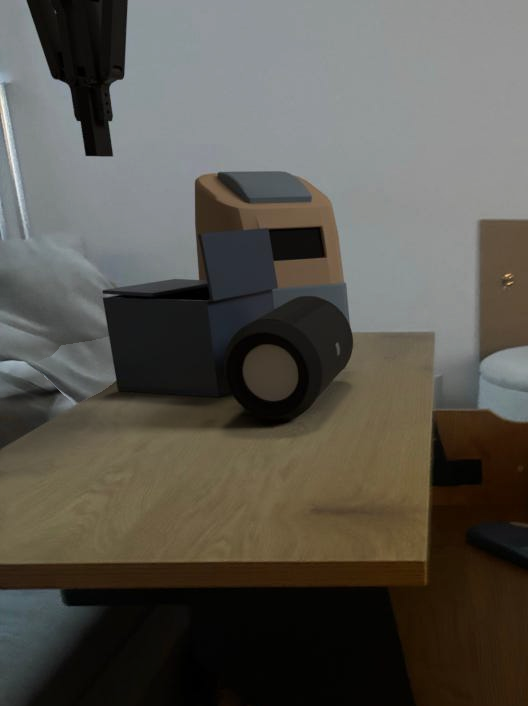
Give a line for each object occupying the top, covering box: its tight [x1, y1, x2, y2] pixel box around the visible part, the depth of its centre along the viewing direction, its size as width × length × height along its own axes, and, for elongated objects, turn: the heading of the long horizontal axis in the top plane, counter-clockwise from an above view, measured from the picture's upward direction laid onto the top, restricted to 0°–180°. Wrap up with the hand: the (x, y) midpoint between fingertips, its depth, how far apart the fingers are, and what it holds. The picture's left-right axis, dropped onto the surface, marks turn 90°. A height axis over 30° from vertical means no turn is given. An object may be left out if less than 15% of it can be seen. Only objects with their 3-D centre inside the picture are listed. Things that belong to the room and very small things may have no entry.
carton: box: [102, 228, 278, 398], centre depth 116 cm, size 15×14×17 cm
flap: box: [102, 278, 208, 297], centre depth 116 cm, size 7×14×1 cm, turn 160°
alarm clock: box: [194, 170, 351, 326], centre depth 132 cm, size 17×17×23 cm
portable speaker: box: [224, 296, 354, 422], centre depth 107 cm, size 26×10×10 cm, turn 178°
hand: (99, 156), depth 107 cm, fingers closed
